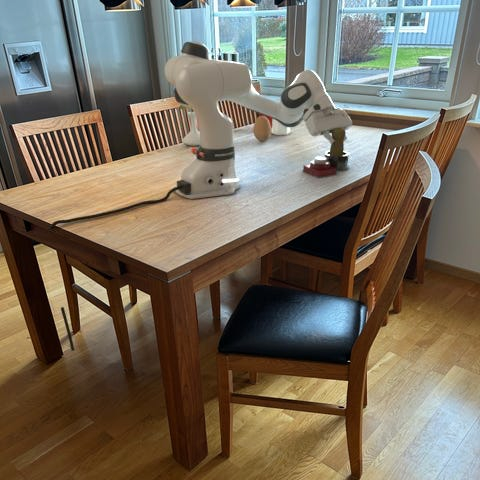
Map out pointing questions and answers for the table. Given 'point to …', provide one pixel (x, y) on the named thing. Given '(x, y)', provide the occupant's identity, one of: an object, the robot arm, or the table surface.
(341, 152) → the olive yellow knobbed peg
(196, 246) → the table surface
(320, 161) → the button
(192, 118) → the flower in vase
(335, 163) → the cup
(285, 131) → the jar
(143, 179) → the table surface
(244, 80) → the robot arm
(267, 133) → the egg
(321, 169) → the panel
